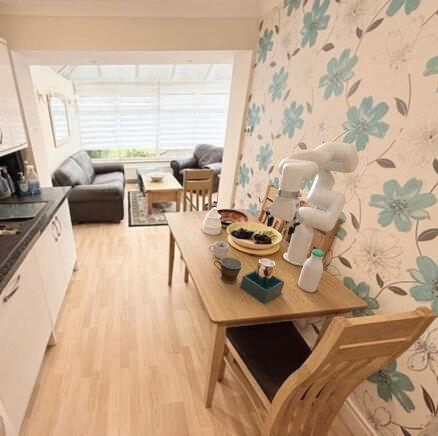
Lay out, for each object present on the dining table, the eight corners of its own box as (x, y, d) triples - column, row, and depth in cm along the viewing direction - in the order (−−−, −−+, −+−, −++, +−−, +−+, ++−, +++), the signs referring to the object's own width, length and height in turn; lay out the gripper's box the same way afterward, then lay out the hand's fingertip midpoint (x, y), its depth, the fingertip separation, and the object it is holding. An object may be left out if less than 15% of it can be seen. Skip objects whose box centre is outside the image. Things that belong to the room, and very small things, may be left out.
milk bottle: (316, 294, 109) (329, 258, 101) (297, 288, 113) (308, 252, 105) (316, 285, 115) (328, 249, 107) (297, 280, 119) (308, 245, 111)
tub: (257, 278, 120) (259, 267, 117) (281, 293, 110) (284, 281, 107) (240, 287, 114) (242, 275, 111) (264, 303, 104) (267, 291, 101)
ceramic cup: (239, 275, 123) (242, 259, 119) (238, 287, 114) (242, 270, 110) (213, 270, 127) (215, 254, 123) (211, 281, 118) (213, 265, 114)
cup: (207, 257, 138) (208, 245, 135) (209, 250, 145) (210, 239, 142) (226, 261, 134) (228, 249, 131) (227, 254, 141) (229, 242, 138)
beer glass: (270, 295, 108) (277, 267, 102) (254, 293, 109) (260, 265, 103) (266, 285, 114) (273, 258, 108) (251, 283, 116) (257, 257, 110)
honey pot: (222, 234, 164) (226, 210, 157) (204, 234, 164) (206, 210, 157) (218, 226, 176) (221, 203, 168) (200, 226, 176) (202, 203, 169)
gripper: (315, 197, 94) (304, 235, 101) (274, 186, 107) (267, 221, 115) (304, 201, 90) (294, 240, 98) (263, 189, 104) (257, 225, 111)
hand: (279, 229), depth 106 cm, fingers open, 9 cm apart
